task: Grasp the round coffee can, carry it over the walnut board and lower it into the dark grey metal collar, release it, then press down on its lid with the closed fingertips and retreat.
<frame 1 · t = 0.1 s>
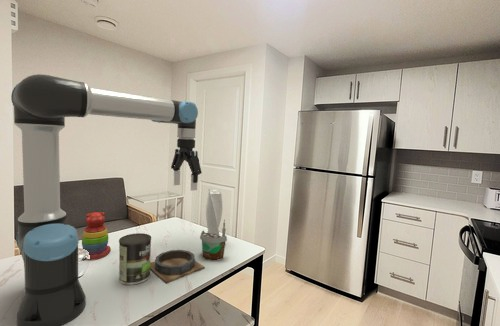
hand: (184, 187, 114), 28 cm above the table, fingers open, 13 cm apart
collar: (175, 261, 100), on the board, point 2 cm above the table
skyscraper: (213, 246, 123), on the table
board: (175, 267, 101), on the table
food container: (209, 258, 110), on the table
coffee can: (135, 277, 93), on the table
stacking bear: (95, 255, 108), on the table
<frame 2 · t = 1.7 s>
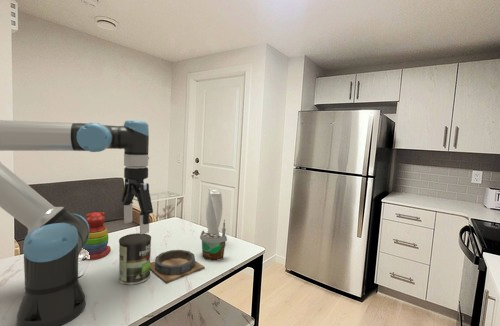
hand: (135, 227, 91), 18 cm above the table, fingers open, 13 cm apart
nothing on the table moved.
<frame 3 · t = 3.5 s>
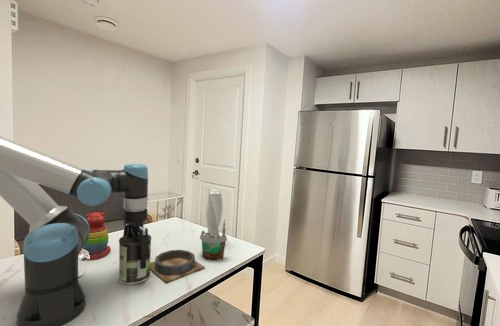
hand: (135, 270, 92), 2 cm above the table, fingers closed on coffee can, 10 cm apart
coffee can: (134, 277, 93), on the table, touching gripper
everything else where it was.
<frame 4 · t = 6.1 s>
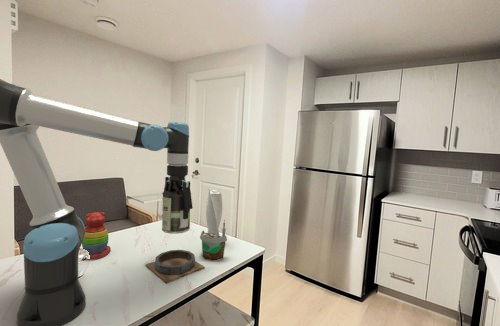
hand: (176, 223, 99), 17 cm above the table, fingers closed on coffee can, 10 cm apart
coffee can: (176, 229, 99), point 15 cm above the table, touching gripper
everything else where it was.
when the fingers open (4 cm above the table, at t = 8.9 s): coffee can drops 1 cm, resting on board.
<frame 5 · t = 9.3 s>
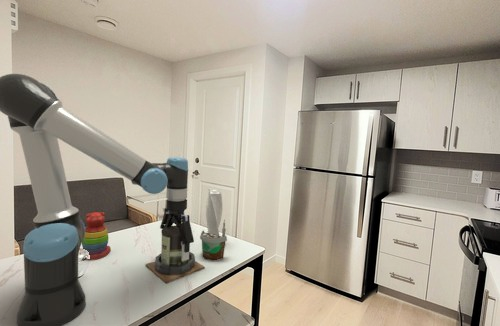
hand: (175, 253, 100), 6 cm above the table, fingers open, 13 cm apart
coffee can: (174, 265, 101), point 1 cm above the table, touching board
everything else where it was.
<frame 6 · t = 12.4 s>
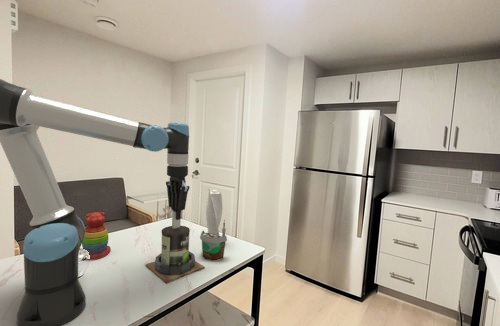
hand: (176, 227, 99), 16 cm above the table, fingers closed
nothing on the table moved.
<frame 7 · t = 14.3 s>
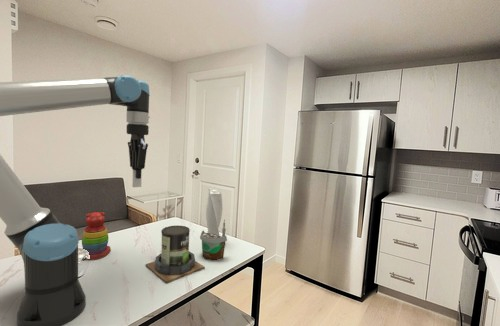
hand: (136, 186, 99), 30 cm above the table, fingers closed
nothing on the table moved.
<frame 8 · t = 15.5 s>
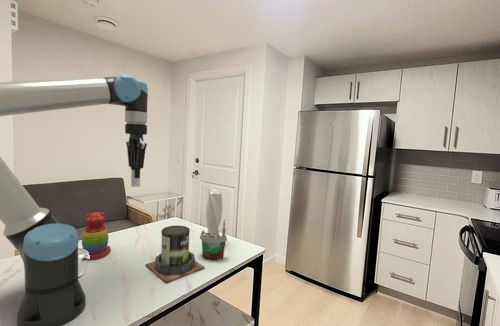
hand: (135, 186, 100), 30 cm above the table, fingers closed
nothing on the table moved.
at the end: coffee can 0.1 cm off-centre on the collar, point 0.6 cm above the collar's base; coffee can tilted 0°; the gripper is holding nothing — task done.
